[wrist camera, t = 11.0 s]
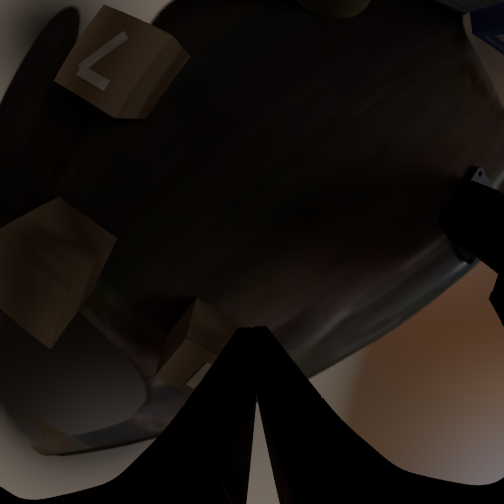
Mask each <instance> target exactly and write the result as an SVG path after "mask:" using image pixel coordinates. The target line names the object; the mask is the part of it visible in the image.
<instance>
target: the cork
mask: <svg viewBox="0 0 504 504" xmlns="http://www.w3.org/2000/svg"><path fill="white" fill-rule="evenodd" d="M296 1H297V2H298V3H299V4H300V5H302V6H303V7H305V8H307V9H308V10H310V11H312V12H314V13H317V14H320V15H322V16H325V17H331V18H339V19H341V18H349V17H353V16H355V15H357V14H359V13H361V12H362V11H363V10H364V9H365V8H366V7H367V5H368V4H369V2H370V1H371V0H296Z"/></svg>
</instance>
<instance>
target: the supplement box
mask: <svg viewBox="0 0 504 504" xmlns="http://www.w3.org/2000/svg"><path fill="white" fill-rule="evenodd" d="M429 1H431V2H434V3H437V4H439V5H441V6H444V7H446V8H448V9H450V10H452V11H454V12H457V13H459V14H461V15H464V14H467V13H470V12H473V11H476V10H479V9H482V8H485V7H489V6H492V5H496V4H500V3H504V0H429Z"/></svg>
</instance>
